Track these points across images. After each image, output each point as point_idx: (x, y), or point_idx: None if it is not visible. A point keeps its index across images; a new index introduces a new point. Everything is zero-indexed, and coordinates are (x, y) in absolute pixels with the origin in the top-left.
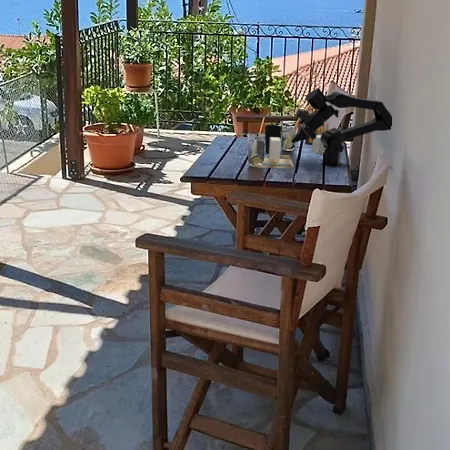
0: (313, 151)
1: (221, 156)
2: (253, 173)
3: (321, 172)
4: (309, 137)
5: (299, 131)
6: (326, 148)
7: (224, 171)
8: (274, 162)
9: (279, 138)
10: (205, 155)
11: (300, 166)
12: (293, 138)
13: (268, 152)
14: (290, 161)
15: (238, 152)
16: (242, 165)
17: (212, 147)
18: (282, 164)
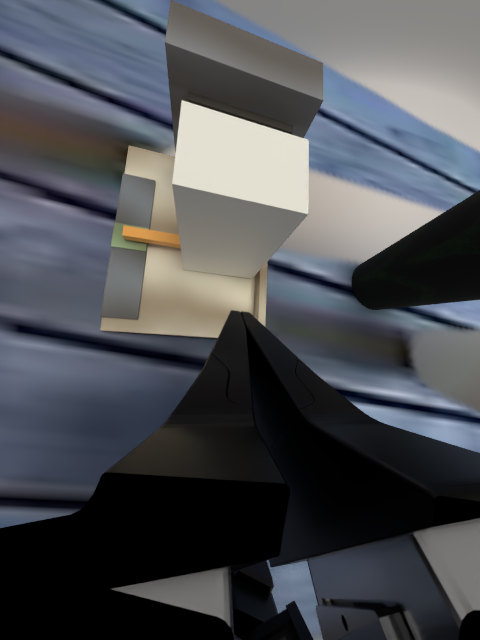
0: None
1: None
2: (9, 116)
3: (15, 486)
4: (80, 591)
5: (225, 420)
6: (250, 633)
7: (56, 17)
8: (135, 229)
9: (273, 202)
10: (302, 51)
11: (158, 374)
12: (240, 325)
13: (360, 266)
14: (207, 330)
15: (359, 168)
16: (166, 120)
17: (402, 109)
18: (126, 272)
